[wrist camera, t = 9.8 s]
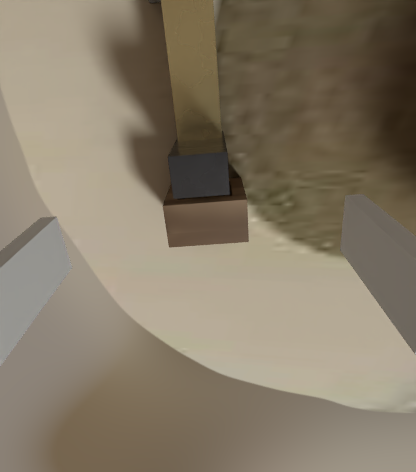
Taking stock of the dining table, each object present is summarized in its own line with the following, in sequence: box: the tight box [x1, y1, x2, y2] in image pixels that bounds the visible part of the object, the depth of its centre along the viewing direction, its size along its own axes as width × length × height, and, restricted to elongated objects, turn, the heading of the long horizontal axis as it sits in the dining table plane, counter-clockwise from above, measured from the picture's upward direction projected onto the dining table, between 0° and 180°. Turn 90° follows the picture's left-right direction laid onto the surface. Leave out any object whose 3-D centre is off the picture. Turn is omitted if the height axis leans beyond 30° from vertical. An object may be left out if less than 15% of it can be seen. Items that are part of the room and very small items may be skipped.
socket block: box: [163, 178, 249, 247], centre depth 32 cm, size 4×7×6 cm, turn 95°
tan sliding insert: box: [161, 0, 230, 199], centre depth 26 cm, size 18×4×9 cm, turn 5°
